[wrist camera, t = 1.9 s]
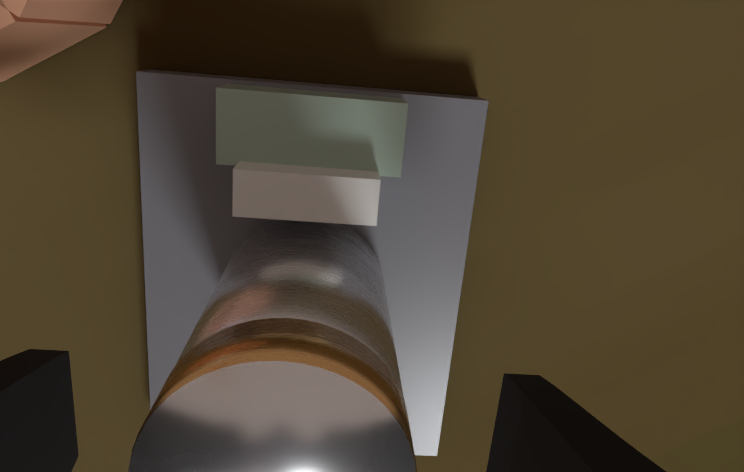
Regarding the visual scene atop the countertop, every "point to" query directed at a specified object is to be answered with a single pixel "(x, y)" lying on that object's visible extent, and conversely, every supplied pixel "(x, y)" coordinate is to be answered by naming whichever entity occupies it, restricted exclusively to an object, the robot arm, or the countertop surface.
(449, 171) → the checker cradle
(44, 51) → the cup
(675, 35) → the countertop surface
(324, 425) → the battery cell
